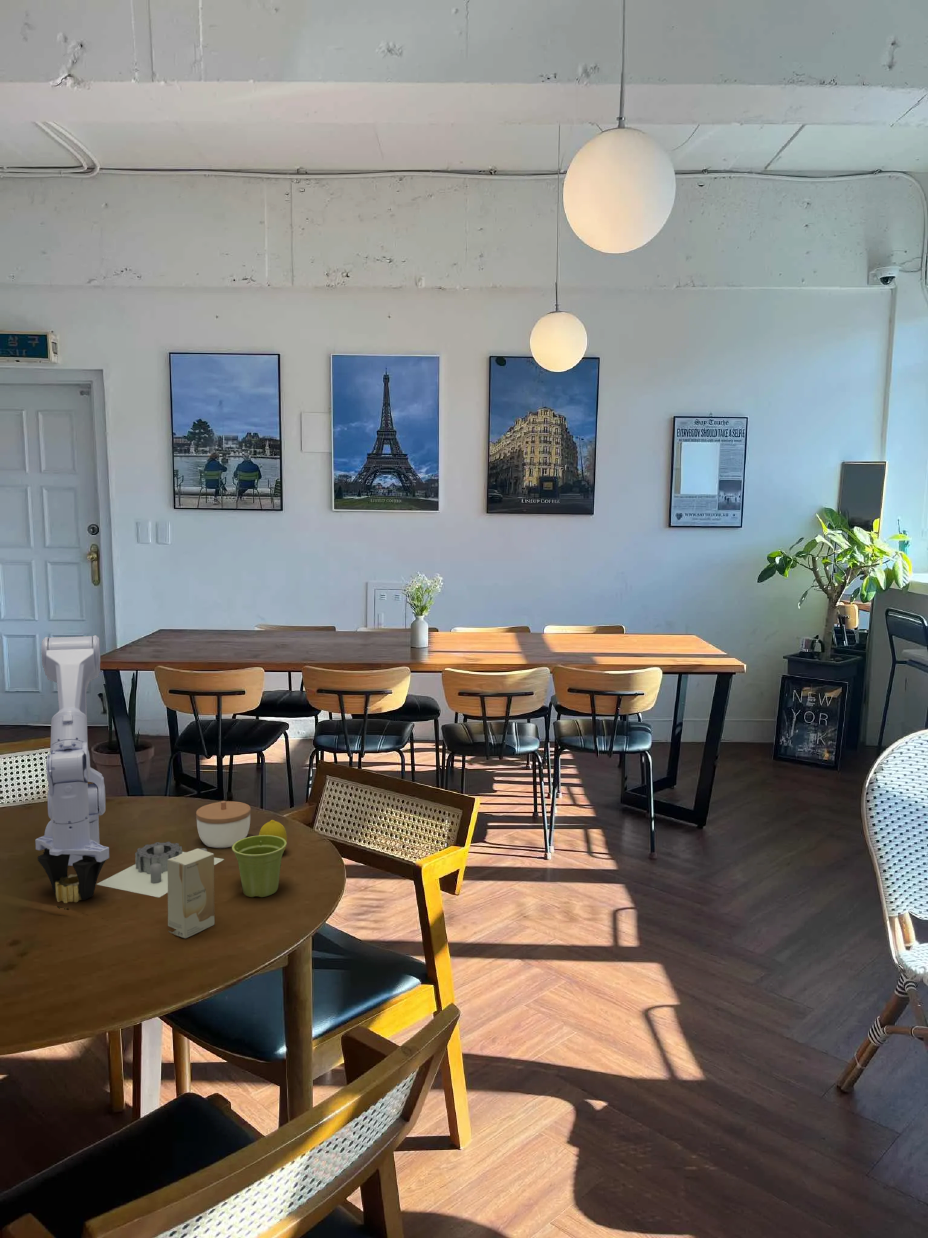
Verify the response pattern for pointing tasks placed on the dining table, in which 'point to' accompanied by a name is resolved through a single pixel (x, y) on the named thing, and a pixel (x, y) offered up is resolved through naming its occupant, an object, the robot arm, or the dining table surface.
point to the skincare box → (191, 892)
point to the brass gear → (68, 889)
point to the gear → (156, 856)
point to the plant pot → (259, 863)
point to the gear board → (143, 878)
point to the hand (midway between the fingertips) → (73, 894)
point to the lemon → (274, 830)
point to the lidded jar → (223, 823)
